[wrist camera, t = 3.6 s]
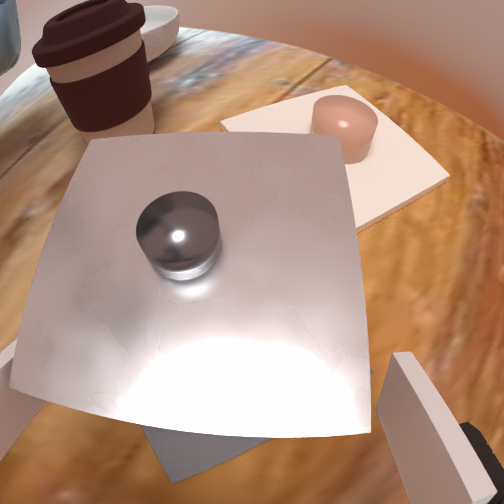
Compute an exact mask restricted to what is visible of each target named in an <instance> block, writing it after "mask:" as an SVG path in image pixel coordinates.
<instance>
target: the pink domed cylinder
mask: <svg viewBox="0 0 504 504" xmlns="http://www.w3.org/2000/svg"><path fill="white" fill-rule="evenodd" d="M377 125H378V117H377V115H376V113H375V112H374V111H373V110H372V109H371V108H370V107H369V106H368V105H366V104H365V103H363V102H361V101H359V100H357V99H355V98H352V97H348V96H343V95H328V96H324V97H321V98H319V99H318V100H317V101H316V102H315V103H314V106H313V113H312V120H311V127H310V134H313V135H326V136H338V137H339V139H340V143H341V148H342V153H343V158H344V163H345V164H355V163H358V162H361V161H362V160H364V159H365V158H366V157H367V155H368V152H369V149H370V146H371V143H372V140H373V137H374V134H375V131H376V128H377Z"/></svg>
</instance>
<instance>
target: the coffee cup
mask: <svg viewBox="0 0 504 504" xmlns="http://www.w3.org/2000/svg"><path fill="white" fill-rule="evenodd" d="M145 21H146V17H145V12H144V7H143V6H142V5H141V4H138V3H127V2H126V1H125V0H89V1H85V2H83V3H80V4H78V5H75V6H73V7H71V8H69V9H67V10H65V11H63V12H61V13H59V14H58V15H56V16H54V17H53V18H51V19H50V20H49V21H48V22H47V23H46V24H45V25H44V28H43V36H42V38H41V39H40V40H39V41H38V42H37V43H36V44H35V45H34V47H33V49H32V54H33V57H34V59H35V62H36V64H37V65H38V66H39V67H42V68H46V69H47V71H48V73H49V75H50V83H51V85H52V87H53V89H54V91H55V93H56V94H57V96H58V98H59V100H60V102H61V104H62V106H63V107H64V109H65V111H66V113H67V115H68V117H69V118H70V120H71V122H72V124H73V125H74V127H75V128H76V129H78V130H79V132H80V133H81V135H82V137H83V139H84V141H85V142H86V144H87V146H88V145H89V143H90V141H91V140H92V139H101V138H111V137H121V136H132V135H146V134H153V132H154V129H155V122H154V116H153V111H152V105H151V94H152V93H151V85H150V79H149V72H148V65H147V58H146V50H145V43H144V41H143V40H142V39H141V32H140V28H141V27H142V26H143V25H144V24H145Z"/></svg>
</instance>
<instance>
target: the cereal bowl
mask: <svg viewBox="0 0 504 504" xmlns="http://www.w3.org/2000/svg"><path fill="white" fill-rule="evenodd" d="M144 12H145V17H146V21H145V24H144V25H143V26H142V27H141V28H140V32H141V39H142V40H143V41H144V43H145V50H146V58H147V63H149V62H150V61H151V60H153V59H155V58H156V57H158V56H159V55H161V54H162V53H163V52H165V51H166V50H167V49H168V48H169V47H170V46H171V45H172V44H173V42H174V41H175V39H176V37H177V35H178V32H179V12H178V10H177V9H176V8H173V7H169V6H144Z"/></svg>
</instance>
